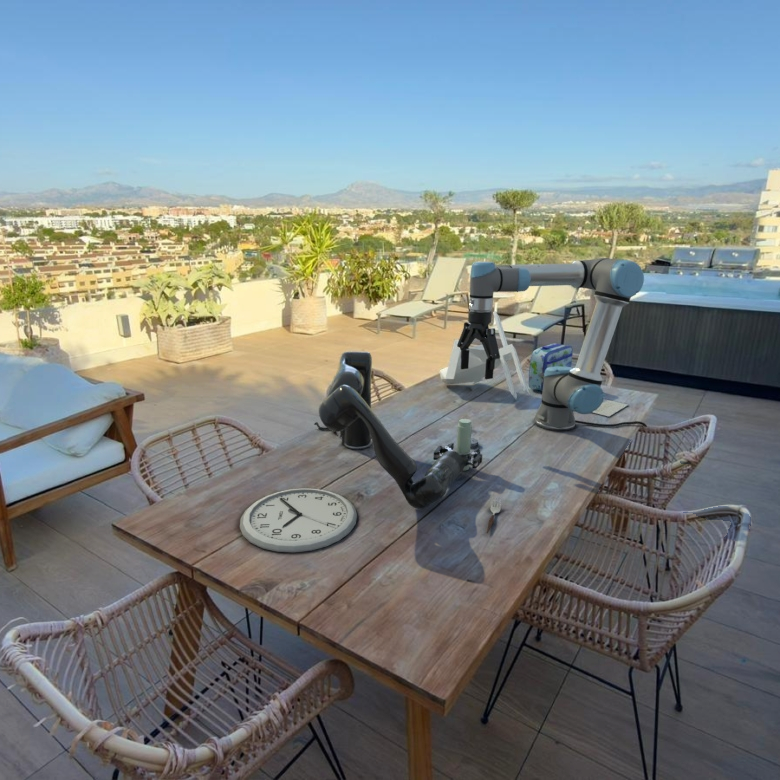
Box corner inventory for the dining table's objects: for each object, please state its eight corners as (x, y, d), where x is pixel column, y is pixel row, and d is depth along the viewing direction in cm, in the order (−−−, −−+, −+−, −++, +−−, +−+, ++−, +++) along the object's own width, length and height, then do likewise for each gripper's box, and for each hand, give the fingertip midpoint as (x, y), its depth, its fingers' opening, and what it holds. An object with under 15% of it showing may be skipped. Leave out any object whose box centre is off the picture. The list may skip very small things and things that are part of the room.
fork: (481, 533, 130) (482, 526, 130) (492, 503, 145) (493, 497, 144) (492, 535, 130) (492, 528, 129) (501, 505, 144) (502, 499, 143)
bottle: (470, 466, 168) (473, 419, 163) (467, 471, 164) (470, 424, 159) (457, 463, 169) (459, 417, 164) (454, 469, 165) (456, 422, 161)
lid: (459, 444, 185) (459, 439, 184) (471, 441, 187) (471, 436, 187) (469, 449, 180) (469, 444, 180) (480, 446, 183) (481, 441, 183)
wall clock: (358, 544, 122) (227, 548, 120) (358, 550, 123) (228, 554, 120) (355, 484, 151) (250, 486, 148) (355, 489, 151) (250, 491, 149)
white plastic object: (461, 429, 252) (437, 405, 227) (444, 352, 274) (420, 323, 250) (535, 404, 240) (518, 377, 215) (510, 326, 262) (492, 293, 237)
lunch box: (544, 395, 239) (549, 351, 233) (524, 390, 247) (528, 347, 240) (571, 384, 257) (577, 343, 251) (552, 380, 264) (556, 339, 258)
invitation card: (608, 416, 214) (573, 407, 224) (608, 416, 214) (573, 408, 224) (628, 404, 229) (594, 396, 238) (628, 405, 229) (594, 397, 238)
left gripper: (471, 461, 148) (487, 441, 162) (425, 451, 154) (444, 433, 168) (469, 485, 151) (486, 463, 165) (424, 474, 157) (443, 454, 171)
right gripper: (449, 306, 179) (446, 366, 185) (495, 317, 158) (490, 384, 164) (467, 304, 182) (463, 363, 188) (514, 315, 161) (509, 381, 167)
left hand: (465, 448), depth 166 cm, fingers open, 8 cm apart
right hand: (476, 373), depth 176 cm, fingers open, 13 cm apart
